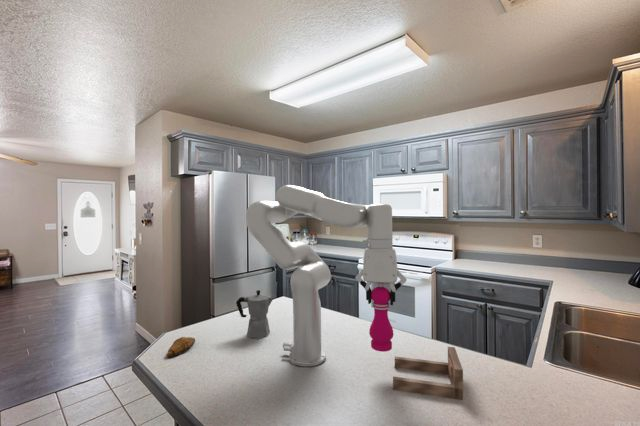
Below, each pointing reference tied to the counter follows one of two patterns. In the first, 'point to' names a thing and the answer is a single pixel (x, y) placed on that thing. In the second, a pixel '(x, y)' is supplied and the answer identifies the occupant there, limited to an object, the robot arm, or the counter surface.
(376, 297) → the pepper mill
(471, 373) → the counter surface
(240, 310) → the coffeepot
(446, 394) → the spice rack
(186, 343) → the croissant
